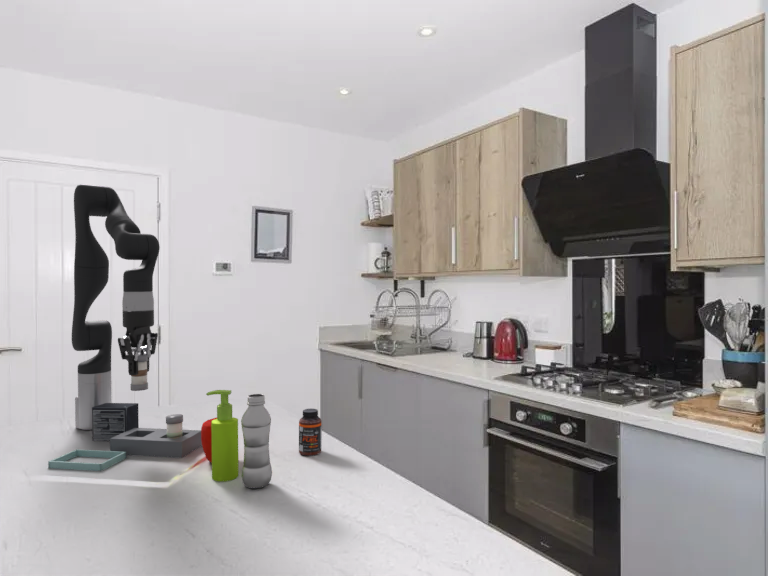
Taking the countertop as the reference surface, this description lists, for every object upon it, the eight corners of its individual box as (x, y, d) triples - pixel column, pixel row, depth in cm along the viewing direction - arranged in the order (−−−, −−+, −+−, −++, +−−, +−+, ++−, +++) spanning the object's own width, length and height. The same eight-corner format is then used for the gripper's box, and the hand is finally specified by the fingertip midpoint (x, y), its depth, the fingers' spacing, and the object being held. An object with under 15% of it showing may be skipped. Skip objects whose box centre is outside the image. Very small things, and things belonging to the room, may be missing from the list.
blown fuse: (127, 390, 134) (126, 356, 134) (137, 387, 138) (136, 354, 138) (141, 391, 134) (141, 356, 134) (151, 387, 138) (151, 354, 138)
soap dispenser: (210, 472, 121) (210, 388, 121) (240, 471, 122) (239, 387, 122) (204, 482, 115) (203, 393, 115) (235, 481, 116) (234, 392, 116)
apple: (233, 466, 125) (232, 422, 125) (196, 467, 125) (196, 423, 125) (240, 454, 134) (240, 413, 134) (206, 455, 134) (206, 414, 133)
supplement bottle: (300, 457, 131) (300, 413, 131) (297, 450, 137) (296, 408, 137) (323, 455, 133) (323, 411, 133) (319, 448, 139) (318, 406, 139)
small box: (140, 438, 149) (140, 402, 149) (126, 445, 142) (126, 407, 142) (106, 437, 150) (105, 401, 150) (91, 444, 143) (90, 407, 143)
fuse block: (110, 457, 132) (109, 419, 132) (135, 445, 142) (134, 409, 142) (182, 461, 129) (181, 422, 129) (202, 448, 139) (201, 412, 139)
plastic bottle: (277, 482, 115) (277, 393, 115) (261, 493, 109) (260, 399, 109) (253, 478, 117) (252, 391, 117) (235, 490, 111) (234, 397, 111)
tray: (48, 471, 122) (48, 461, 122) (76, 459, 131) (76, 449, 131) (101, 475, 120) (101, 464, 120) (126, 461, 129) (126, 451, 129)
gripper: (142, 307, 143) (142, 368, 144) (107, 310, 129) (107, 378, 130) (166, 307, 142) (167, 369, 142) (134, 310, 128) (134, 378, 128)
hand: (139, 373), depth 136 cm, fingers closed on blown fuse, 4 cm apart
